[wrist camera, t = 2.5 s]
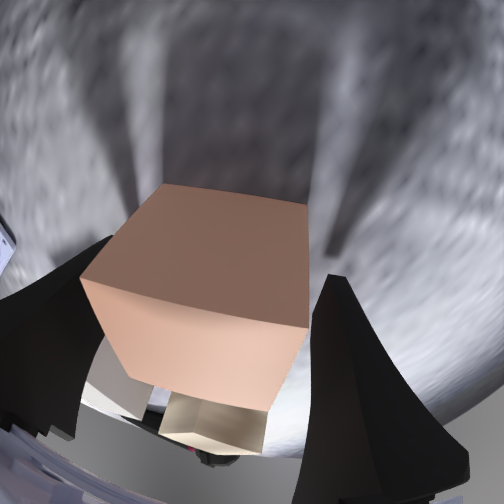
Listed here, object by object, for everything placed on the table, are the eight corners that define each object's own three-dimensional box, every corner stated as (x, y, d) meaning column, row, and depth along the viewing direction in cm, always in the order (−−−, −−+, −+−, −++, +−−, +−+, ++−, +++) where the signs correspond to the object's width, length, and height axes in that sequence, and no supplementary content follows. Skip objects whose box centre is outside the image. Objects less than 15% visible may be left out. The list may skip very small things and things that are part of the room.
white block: (76, 309, 16) (42, 366, 12) (121, 306, 14) (83, 378, 10) (117, 353, 18) (93, 406, 15) (165, 356, 17) (141, 420, 13)
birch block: (177, 375, 19) (158, 433, 15) (213, 359, 16) (193, 432, 12) (228, 400, 20) (216, 454, 16) (271, 388, 18) (261, 453, 14)
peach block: (173, 283, 12) (129, 377, 8) (163, 182, 9) (79, 277, 5) (281, 304, 12) (268, 411, 8) (307, 203, 9) (308, 328, 5)
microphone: (123, 387, 33) (253, 427, 26) (114, 421, 30) (243, 470, 23) (97, 378, 29) (237, 427, 22) (87, 415, 26) (225, 478, 19)
